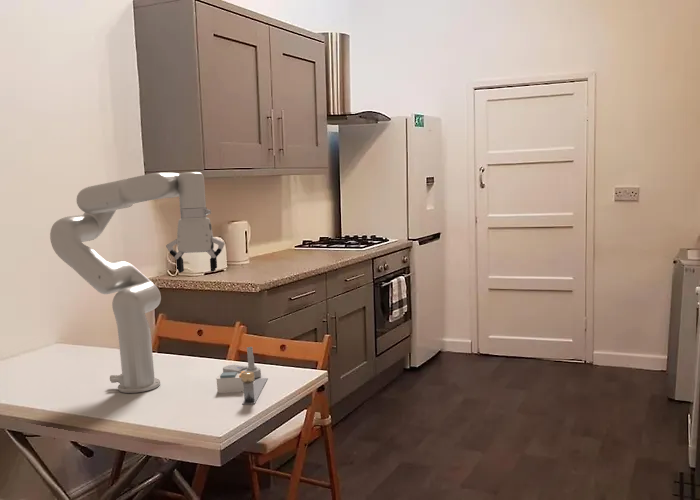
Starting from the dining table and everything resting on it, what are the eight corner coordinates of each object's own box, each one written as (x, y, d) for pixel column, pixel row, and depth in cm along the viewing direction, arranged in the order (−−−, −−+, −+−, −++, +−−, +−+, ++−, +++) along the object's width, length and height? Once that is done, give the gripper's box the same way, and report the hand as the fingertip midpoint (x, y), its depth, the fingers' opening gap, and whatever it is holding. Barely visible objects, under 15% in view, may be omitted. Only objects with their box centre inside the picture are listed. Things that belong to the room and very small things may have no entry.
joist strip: (242, 404, 193) (242, 403, 193) (256, 379, 217) (256, 378, 217) (254, 404, 193) (254, 403, 193) (267, 378, 217) (267, 378, 217)
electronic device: (229, 342, 229) (261, 346, 220) (232, 371, 230) (264, 376, 221) (217, 346, 225) (249, 350, 216) (220, 376, 226) (252, 381, 217)
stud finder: (217, 393, 206) (216, 376, 205) (220, 388, 210) (219, 372, 210) (244, 392, 206) (243, 375, 205) (247, 387, 210) (245, 370, 210)
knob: (242, 403, 194) (239, 375, 193) (244, 399, 197) (242, 371, 196) (254, 402, 193) (252, 374, 193) (257, 398, 197) (254, 371, 196)
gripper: (225, 212, 209) (228, 268, 211) (168, 214, 209) (172, 270, 211) (219, 213, 201) (223, 272, 203) (160, 216, 202) (164, 274, 204)
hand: (197, 271), depth 207 cm, fingers open, 9 cm apart
